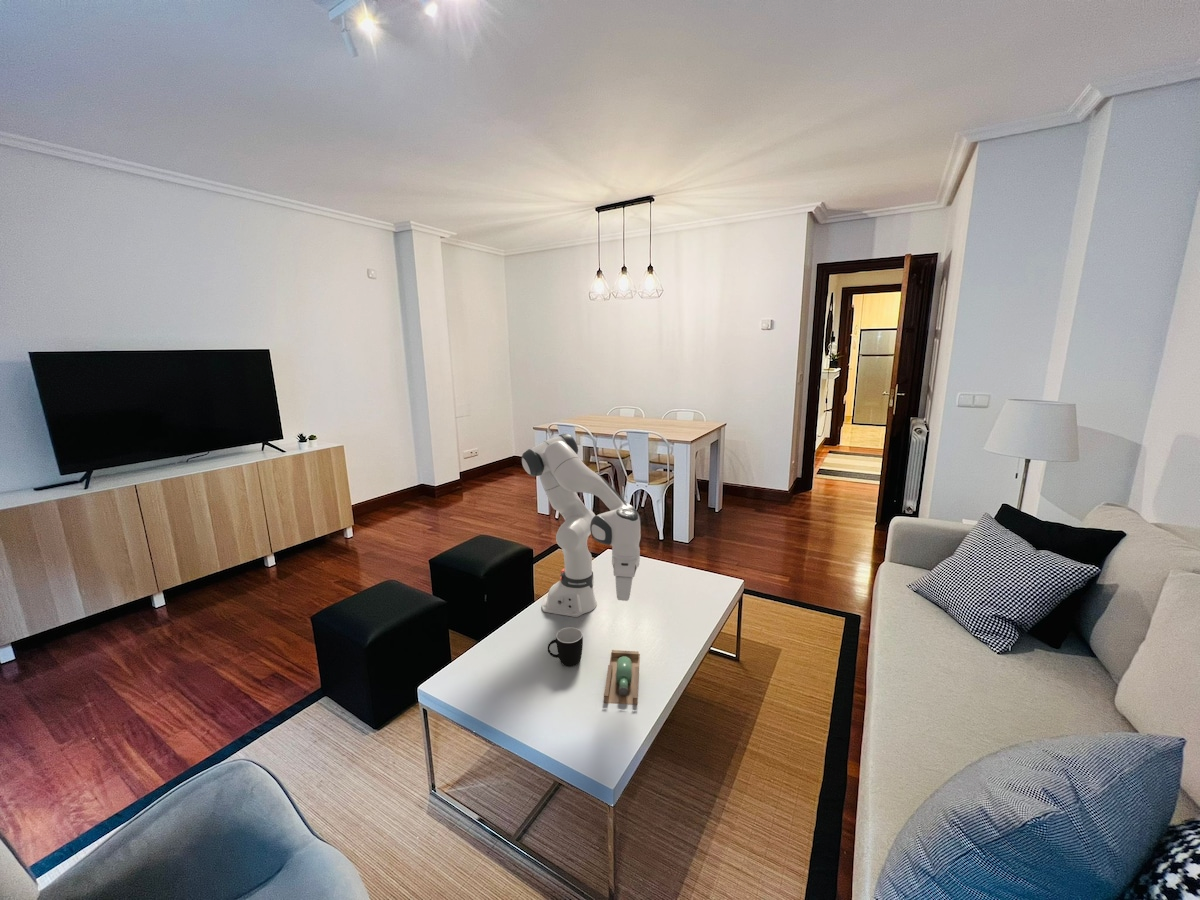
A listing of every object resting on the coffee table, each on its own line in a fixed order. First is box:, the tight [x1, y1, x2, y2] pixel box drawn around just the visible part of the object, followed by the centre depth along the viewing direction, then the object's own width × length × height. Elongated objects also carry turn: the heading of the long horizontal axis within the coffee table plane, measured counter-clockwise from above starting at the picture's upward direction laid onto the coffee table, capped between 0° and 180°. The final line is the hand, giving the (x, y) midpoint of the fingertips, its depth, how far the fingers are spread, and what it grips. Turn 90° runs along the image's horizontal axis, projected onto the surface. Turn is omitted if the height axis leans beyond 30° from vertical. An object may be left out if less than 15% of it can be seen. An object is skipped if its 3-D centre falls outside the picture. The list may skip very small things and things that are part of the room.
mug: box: [547, 626, 584, 668], centre depth 162 cm, size 12×9×10 cm
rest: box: [603, 649, 641, 706], centre depth 155 cm, size 10×24×3 cm, turn 173°
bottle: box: [616, 656, 632, 697], centre depth 151 cm, size 5×5×14 cm
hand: (624, 597), depth 156 cm, fingers closed
